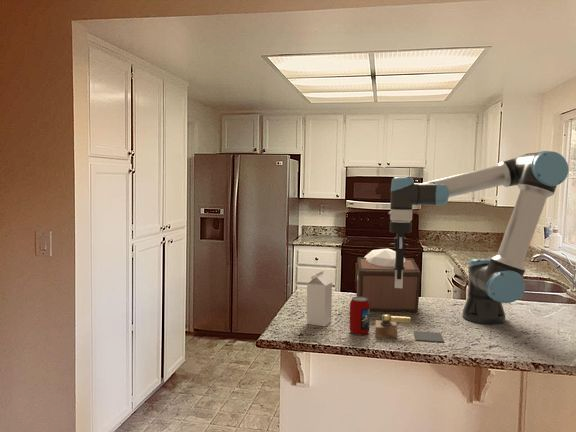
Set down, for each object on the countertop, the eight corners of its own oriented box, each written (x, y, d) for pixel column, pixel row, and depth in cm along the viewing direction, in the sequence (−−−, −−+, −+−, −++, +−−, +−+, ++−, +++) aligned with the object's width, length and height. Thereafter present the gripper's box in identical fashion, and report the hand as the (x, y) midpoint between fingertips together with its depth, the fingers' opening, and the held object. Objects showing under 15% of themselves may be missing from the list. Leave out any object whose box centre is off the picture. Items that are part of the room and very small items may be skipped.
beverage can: (368, 336, 157) (369, 301, 156) (348, 335, 158) (349, 300, 157) (369, 330, 163) (370, 296, 162) (350, 328, 165) (350, 295, 164)
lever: (410, 321, 159) (410, 315, 158) (410, 324, 156) (410, 317, 156) (381, 320, 160) (382, 314, 160) (382, 322, 158) (382, 316, 157)
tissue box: (357, 319, 190) (359, 264, 182) (353, 288, 216) (355, 239, 209) (417, 320, 188) (422, 265, 180) (406, 289, 214) (409, 239, 207)
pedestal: (396, 331, 162) (396, 320, 162) (396, 338, 154) (397, 327, 154) (375, 330, 164) (375, 318, 163) (375, 337, 156) (375, 325, 155)
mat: (440, 333, 160) (440, 332, 160) (444, 342, 151) (444, 341, 151) (413, 332, 162) (413, 330, 162) (415, 340, 153) (415, 339, 153)
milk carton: (331, 321, 173) (332, 271, 172) (324, 327, 167) (325, 274, 165) (313, 319, 176) (314, 269, 175) (306, 324, 170) (307, 273, 168)
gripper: (389, 219, 170) (387, 283, 172) (390, 222, 158) (388, 291, 159) (410, 220, 169) (408, 284, 171) (413, 223, 156) (410, 292, 158)
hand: (398, 287), depth 165 cm, fingers closed
